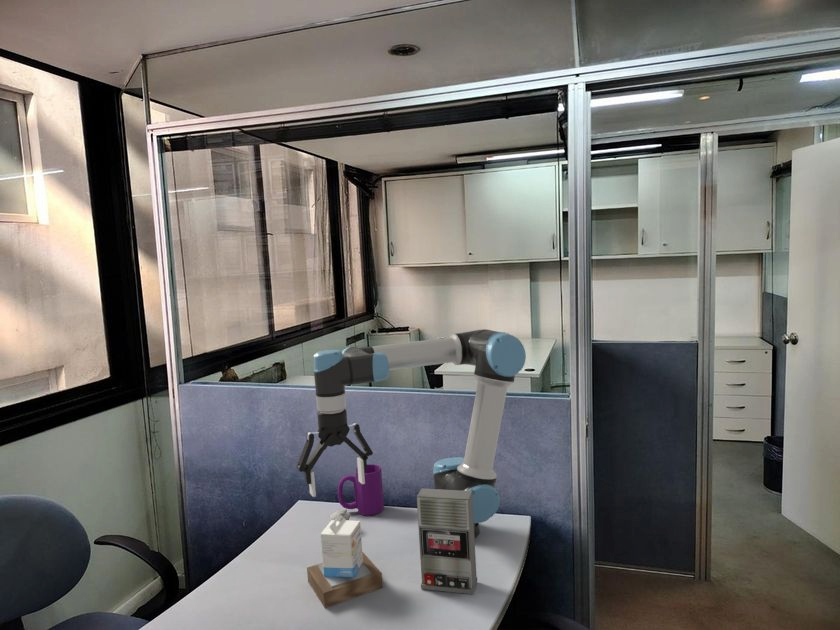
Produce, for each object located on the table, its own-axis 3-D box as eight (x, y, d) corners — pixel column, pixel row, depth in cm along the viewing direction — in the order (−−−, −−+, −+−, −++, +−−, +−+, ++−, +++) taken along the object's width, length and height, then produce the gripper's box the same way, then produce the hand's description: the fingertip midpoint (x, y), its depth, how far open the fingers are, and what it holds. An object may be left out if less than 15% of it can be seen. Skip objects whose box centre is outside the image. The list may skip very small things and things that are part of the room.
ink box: (353, 578, 145) (350, 529, 144) (323, 576, 147) (319, 527, 146) (363, 561, 154) (360, 514, 152) (334, 559, 155) (331, 512, 154)
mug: (384, 515, 191) (381, 472, 189) (338, 519, 190) (334, 476, 188) (384, 503, 200) (381, 463, 198) (340, 507, 199) (337, 466, 197)
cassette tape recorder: (420, 590, 146) (415, 497, 144) (426, 577, 152) (421, 488, 149) (473, 595, 142) (468, 500, 140) (477, 582, 148) (472, 490, 146)
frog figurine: (347, 535, 178) (345, 514, 177) (326, 534, 180) (325, 513, 179) (354, 526, 184) (352, 506, 183) (334, 525, 186) (332, 505, 185)
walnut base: (362, 563, 161) (361, 549, 160) (382, 587, 148) (381, 571, 148) (308, 581, 153) (306, 566, 153) (324, 608, 141) (323, 591, 140)
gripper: (370, 399, 155) (375, 473, 157) (280, 415, 144) (287, 495, 146) (381, 404, 149) (386, 481, 151) (288, 422, 137) (295, 505, 139)
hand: (337, 488), depth 148 cm, fingers open, 13 cm apart
